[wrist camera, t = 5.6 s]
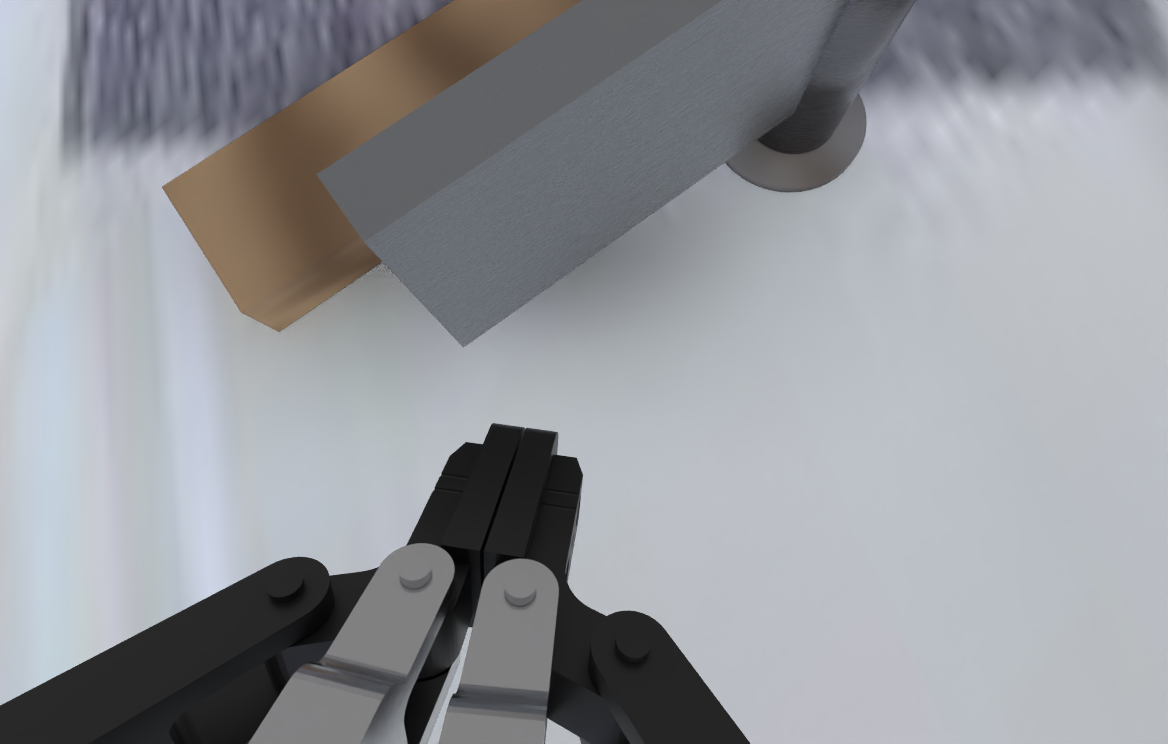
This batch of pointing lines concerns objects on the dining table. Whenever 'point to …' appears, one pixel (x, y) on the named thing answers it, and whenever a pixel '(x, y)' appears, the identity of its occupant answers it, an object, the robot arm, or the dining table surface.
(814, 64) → the bar
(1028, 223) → the dining table surface
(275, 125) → the door edge
